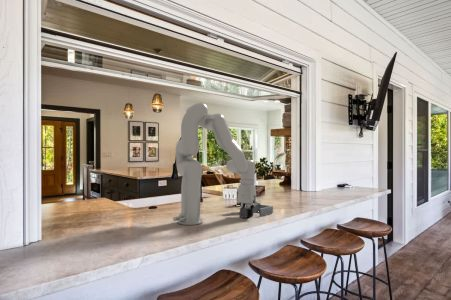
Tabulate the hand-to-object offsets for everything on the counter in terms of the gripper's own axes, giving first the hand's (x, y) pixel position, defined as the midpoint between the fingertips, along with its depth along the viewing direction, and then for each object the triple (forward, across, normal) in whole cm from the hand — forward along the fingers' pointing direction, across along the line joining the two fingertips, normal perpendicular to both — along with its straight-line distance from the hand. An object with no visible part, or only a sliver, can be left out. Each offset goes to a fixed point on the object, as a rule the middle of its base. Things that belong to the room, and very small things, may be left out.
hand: (246, 215), depth 160 cm
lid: (-9, -8, +12) cm, 18 cm away
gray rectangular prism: (0, 0, 0) cm, 0 cm away
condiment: (+1, -25, +26) cm, 36 cm away
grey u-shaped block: (+1, 0, +12) cm, 13 cm away
